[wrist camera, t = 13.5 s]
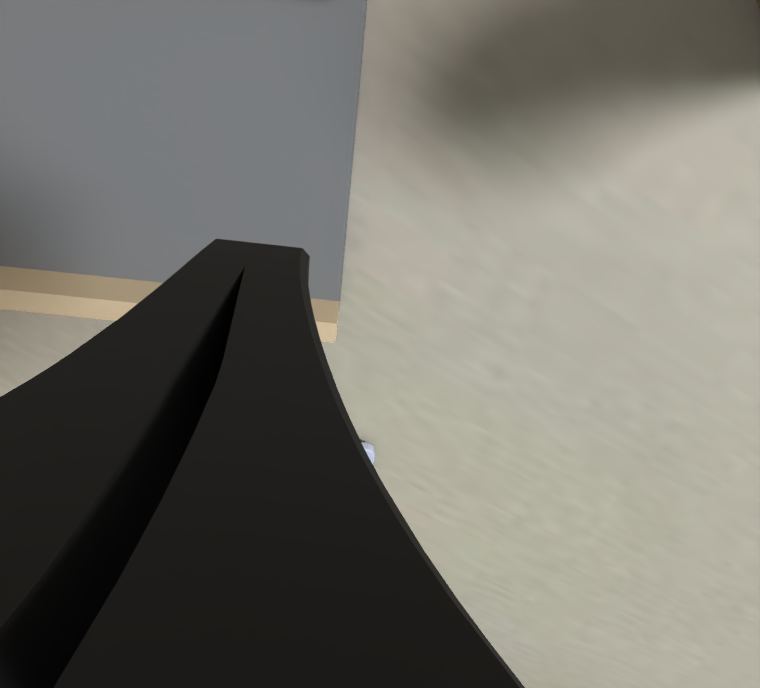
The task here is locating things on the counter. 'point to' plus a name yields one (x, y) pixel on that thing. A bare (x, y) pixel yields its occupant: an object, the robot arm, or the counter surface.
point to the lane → (171, 143)
